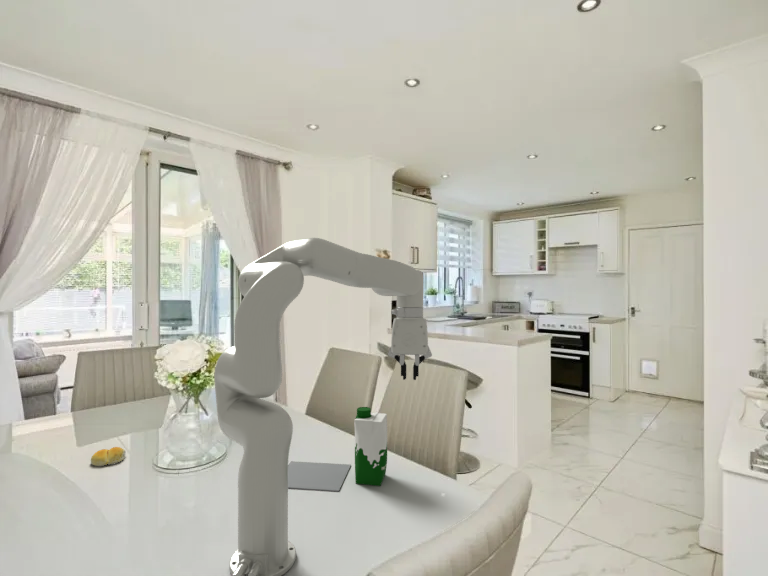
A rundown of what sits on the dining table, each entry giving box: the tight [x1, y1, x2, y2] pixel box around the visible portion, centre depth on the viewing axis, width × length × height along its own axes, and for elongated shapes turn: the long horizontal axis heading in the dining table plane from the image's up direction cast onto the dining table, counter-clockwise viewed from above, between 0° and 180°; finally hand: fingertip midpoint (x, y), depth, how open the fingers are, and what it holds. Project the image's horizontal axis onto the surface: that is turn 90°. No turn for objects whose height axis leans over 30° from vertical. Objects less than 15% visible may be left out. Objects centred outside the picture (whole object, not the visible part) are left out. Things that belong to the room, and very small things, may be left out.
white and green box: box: [353, 406, 388, 487], centre depth 115 cm, size 9×9×20 cm
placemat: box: [288, 460, 352, 492], centre depth 117 cm, size 16×19×1 cm
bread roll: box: [90, 446, 126, 467], centre depth 127 cm, size 8×9×4 cm
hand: (409, 378), depth 114 cm, fingers closed
